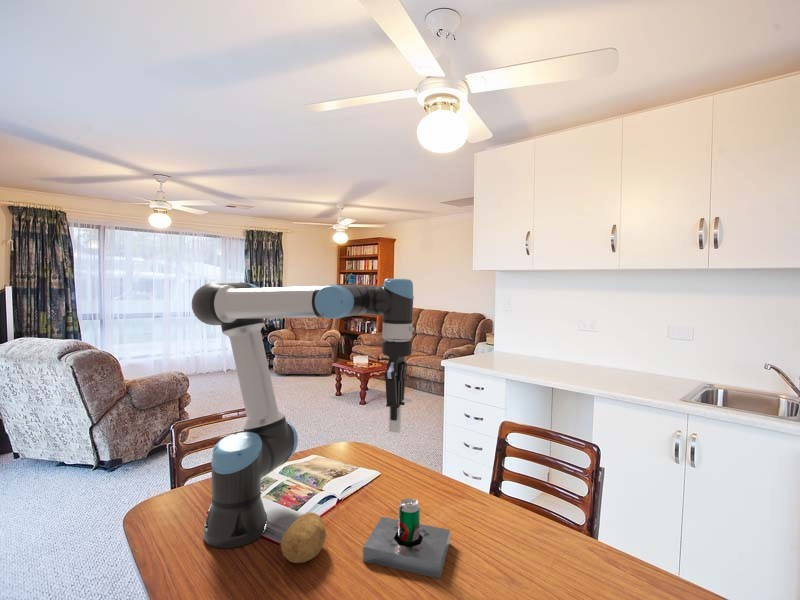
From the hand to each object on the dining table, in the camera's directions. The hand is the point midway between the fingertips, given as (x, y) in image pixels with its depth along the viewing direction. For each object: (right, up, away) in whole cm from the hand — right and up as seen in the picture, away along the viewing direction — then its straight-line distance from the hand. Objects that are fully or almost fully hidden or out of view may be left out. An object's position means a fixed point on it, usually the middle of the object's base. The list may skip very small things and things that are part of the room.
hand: (394, 431), depth 106 cm
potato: (-21, -26, -9) cm, 35 cm away
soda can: (+3, -27, -7) cm, 28 cm away
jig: (+3, -27, -7) cm, 28 cm away
